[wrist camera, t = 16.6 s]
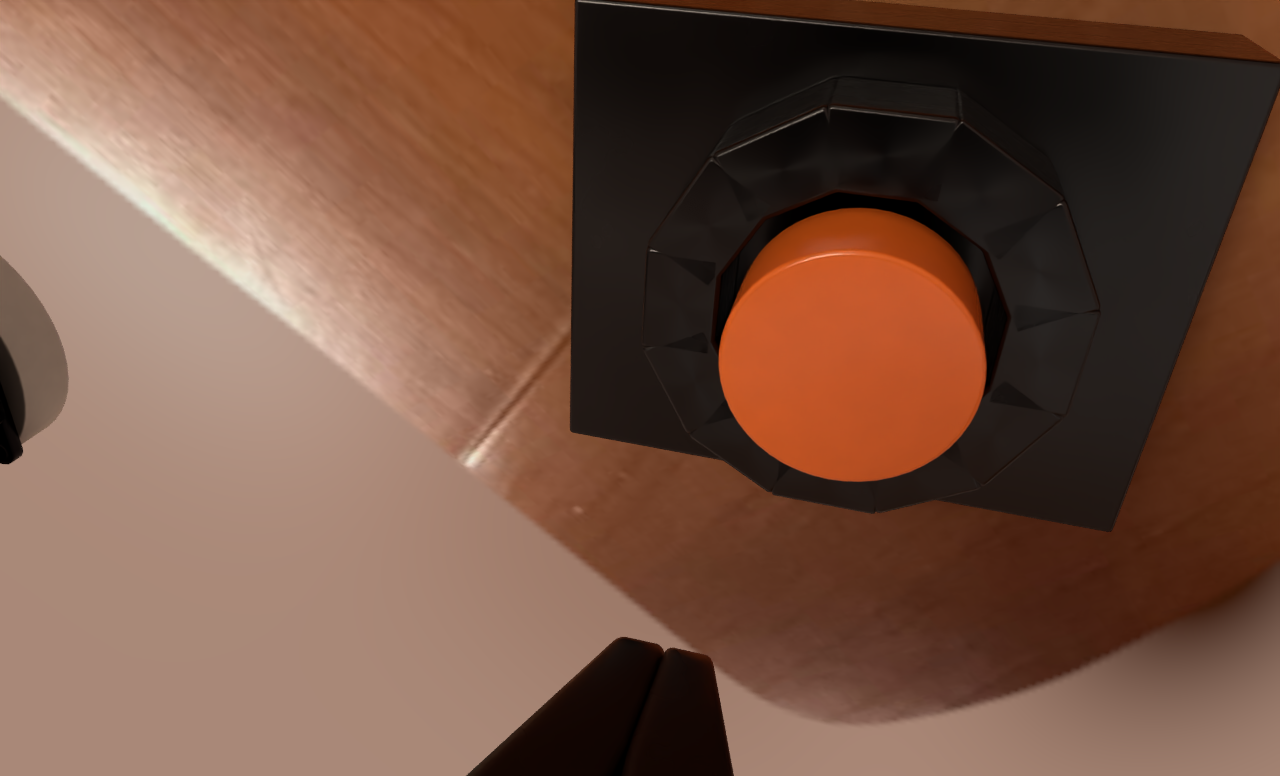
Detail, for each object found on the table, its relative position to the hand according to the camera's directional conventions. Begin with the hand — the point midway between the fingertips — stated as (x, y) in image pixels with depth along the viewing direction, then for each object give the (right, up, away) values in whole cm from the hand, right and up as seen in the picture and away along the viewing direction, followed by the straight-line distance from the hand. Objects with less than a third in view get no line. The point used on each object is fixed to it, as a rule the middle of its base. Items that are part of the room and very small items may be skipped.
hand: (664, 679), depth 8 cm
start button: (+3, +4, +6) cm, 8 cm away
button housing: (+4, +5, +9) cm, 11 cm away
